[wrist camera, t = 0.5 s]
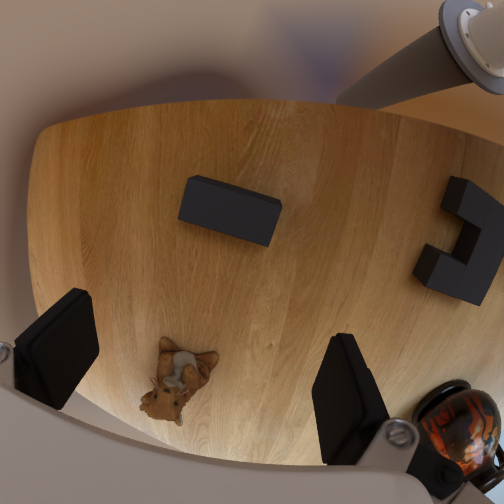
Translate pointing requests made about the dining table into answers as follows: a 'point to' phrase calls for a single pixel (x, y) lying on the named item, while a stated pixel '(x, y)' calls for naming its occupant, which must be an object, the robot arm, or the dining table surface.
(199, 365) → the stuffed squirrel
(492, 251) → the base pad
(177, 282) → the dining table surface
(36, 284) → the dining table surface
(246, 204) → the pad
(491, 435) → the amphora vase
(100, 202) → the dining table surface
